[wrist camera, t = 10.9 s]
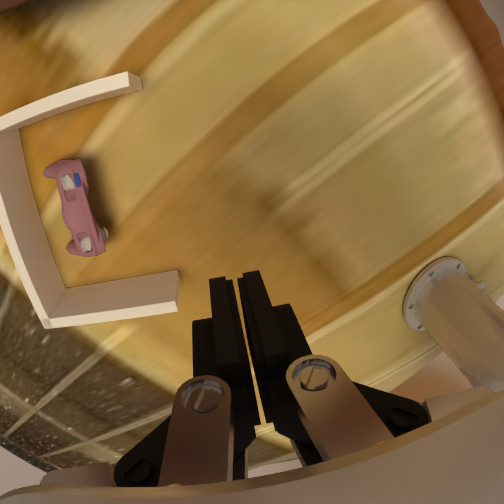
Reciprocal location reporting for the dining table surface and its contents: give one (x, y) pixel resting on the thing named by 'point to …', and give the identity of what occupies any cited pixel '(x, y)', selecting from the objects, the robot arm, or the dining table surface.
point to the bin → (34, 238)
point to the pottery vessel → (11, 4)
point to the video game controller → (77, 208)
